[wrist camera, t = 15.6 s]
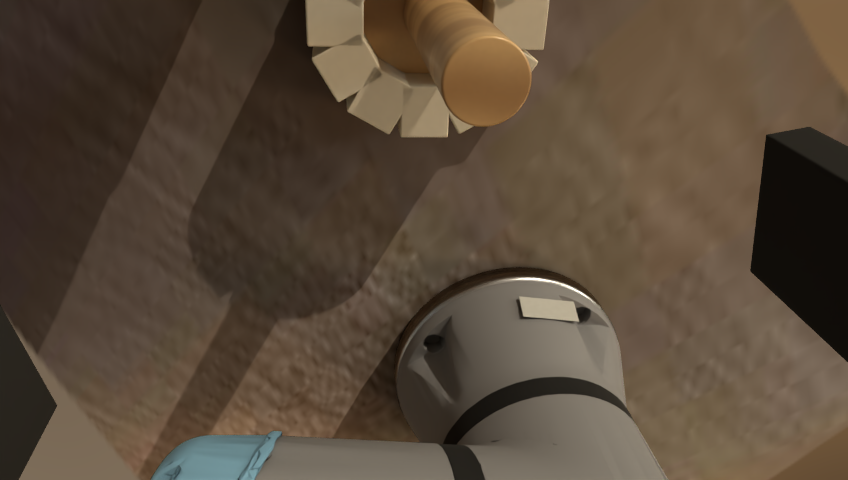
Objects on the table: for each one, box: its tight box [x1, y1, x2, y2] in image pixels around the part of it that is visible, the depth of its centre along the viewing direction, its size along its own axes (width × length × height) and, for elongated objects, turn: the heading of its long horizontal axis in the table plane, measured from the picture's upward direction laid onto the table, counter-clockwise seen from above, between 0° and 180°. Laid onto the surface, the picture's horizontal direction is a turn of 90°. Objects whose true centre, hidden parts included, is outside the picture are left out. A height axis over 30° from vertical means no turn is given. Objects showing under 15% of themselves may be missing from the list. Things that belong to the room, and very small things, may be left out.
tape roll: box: [305, 0, 549, 137], centre depth 32 cm, size 11×11×3 cm
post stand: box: [364, 0, 531, 127], centre depth 28 cm, size 9×9×14 cm
